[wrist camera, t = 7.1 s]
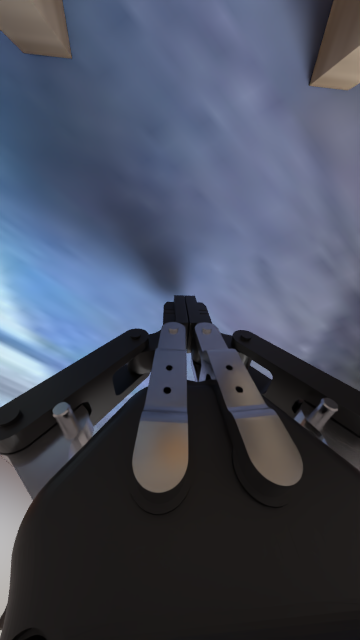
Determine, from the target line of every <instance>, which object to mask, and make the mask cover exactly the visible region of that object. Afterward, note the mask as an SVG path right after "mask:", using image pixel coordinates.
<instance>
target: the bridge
mask: <svg viewBox="0 0 360 640" xmlns="http://www.w3.org/2000/svg"><path fill="white" fill-rule="evenodd" d="M0 30H1V31H2V32H3V33H4V34H5V35H6V36H7V37H8V38H9V39H10V40H11V41H12V42H13V43H14V44H15V45H16V46H17V47H18V48H19V49H20V50H21V51H22V52H23V53H27V54H36V55H45V56H53V57H62V58H71V59H72V55H71V49H70V43H69V37H68V31H67V25H66V19H65V13H64V7H63V1H62V0H0ZM359 83H360V0H334V1H333V5H332V8H331V12H330V15H329V19H328V22H327V26H326V29H325V33H324V36H323V40H322V43H321V47H320V50H319V54H318V57H317V61H316V64H315V67H314V71H313V74H312V78H311V81H310V85H309V86H316V87H324V88H333V89H342V90H349V89H351V88H352V87H354V86H356V85H357V84H359Z"/></svg>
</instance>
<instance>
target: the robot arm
mask: <svg viewBox="0 0 360 640" xmlns="http://www.w3.org/2000/svg"><path fill="white" fill-rule="evenodd" d="M186 350H187V353H191V366H192V370H193V374H194V378H195V381H190V380H187V360H186ZM251 360H253V361H255V362H256V363H258V364H259V365H261V366H262V367H264V368H266V369H267V370H269V371H270V372H271V374H272V376H273V379H272V380H271V379H269V378H268V377H266V376H265V375H263V374H262V373H260V372H259V371H257V370H256V369H254V368H253V367H251V366H250V363H251ZM122 366H123V367H122ZM118 369H119V370H118ZM150 372H151V375H150V380H149V385H148V387H146V388H144V389H142V390H140V391H139V392H137V393H136V394H135V395H133V396H132V397H131V398H130V399H129V400H128V401H127V402H126V403H125V404H124V405H123V406H122V407H121V408H120V409H119V410H118V411H117V412H116V413H115V414H114V415H113V416H112V417H111V418H110V419H109V420H108V422H107V423H106V424H105V425H104V426H103V427H102V428H101V429H100V430H99V431H98V432H97V433H96V434H95V435H94V436H93V437H92V435H93V431H94V428H93V427H94V426H95V425H96V424H97V423H98V422H99V421H100V420H101V419H102V418H103V417H104V416H106V415H107V414H108V413H109V412H110V411H111V410H112V409H113V408H114V407H115V406H116V405H117V404H119V403H120V402H121V401H122V400H123V399H124V398H125V397H126V396H127V395H128V394H129V393H131V392H132V391H133V390H134V389H135V388H136V387H137V386H138V385H139V384H140V383H141V382H142V381H144V380H145V379H146V378H147V377H148V376H149V374H150ZM0 456H1V457H2V458H4V459H5V460H6V461H7V462H8V463H9V464H10V465H11V466H13V467H14V468H15V470H16V471H17V473H18V475H19V477H20V478H21V480H22V482H23V484H24V486H25V487H26V489H27V491H28V492H29V494H30V496H31V498H32V499H33V502H32V503H31V505H30V507H29V508H28V510H27V512H26V514H25V516H24V518H23V520H22V523H21V525H20V527H19V530H18V533H17V536H16V540H15V543H14V547H13V552H12V560H11V577H10V590H9V597H8V604H7V609H6V615H5V620H4V625H3V629H2V633H1V637H0V640H360V391H358V390H356V389H354V388H352V387H351V386H349V385H347V384H345V383H343V382H341V381H340V380H338V379H336V378H334V377H332V376H330V375H329V374H327V373H325V372H323V371H321V370H319V369H317V368H316V367H314V366H312V365H310V364H308V363H306V362H305V361H303V360H301V359H299V358H297V357H295V356H294V355H292V354H290V353H288V352H286V351H284V350H283V349H281V348H279V347H277V346H275V345H273V344H272V343H270V342H268V341H266V340H264V339H262V338H260V337H259V336H257V335H255V334H253V333H251V332H249V331H245V330H238V331H235V332H234V333H233V336H231V335H226V334H222V333H220V331H219V329H218V328H217V327H216V326H215V325H213V324H212V322H211V319H210V316H209V313H208V311H207V308H206V306H205V305H204V304H203V303H199V302H197V301H196V298H195V296H185V297H184V296H182V295H174V302H166V303H165V305H164V313H163V326H162V328H161V330H160V331H158V332H156V333H153V334H149V335H148V333H147V331H145V330H143V329H131V330H128V331H126V332H125V333H123V334H121V335H120V336H118V337H116V338H115V339H113V340H111V341H110V342H108V343H106V344H105V345H103V346H101V347H100V348H98V349H97V350H95V351H93V352H92V353H90V354H88V355H87V356H85V357H83V358H82V359H80V360H78V361H77V362H75V363H73V364H72V365H70V366H68V367H67V368H65V369H63V370H62V371H60V372H58V373H57V374H55V375H53V376H52V377H50V378H48V379H47V380H45V381H43V382H42V383H40V384H38V385H37V386H35V387H33V388H32V389H30V390H28V391H27V392H25V393H23V394H22V395H20V396H19V397H17V398H15V399H14V400H12V401H10V402H9V403H7V404H5V405H4V406H2V407H0Z"/></svg>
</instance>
